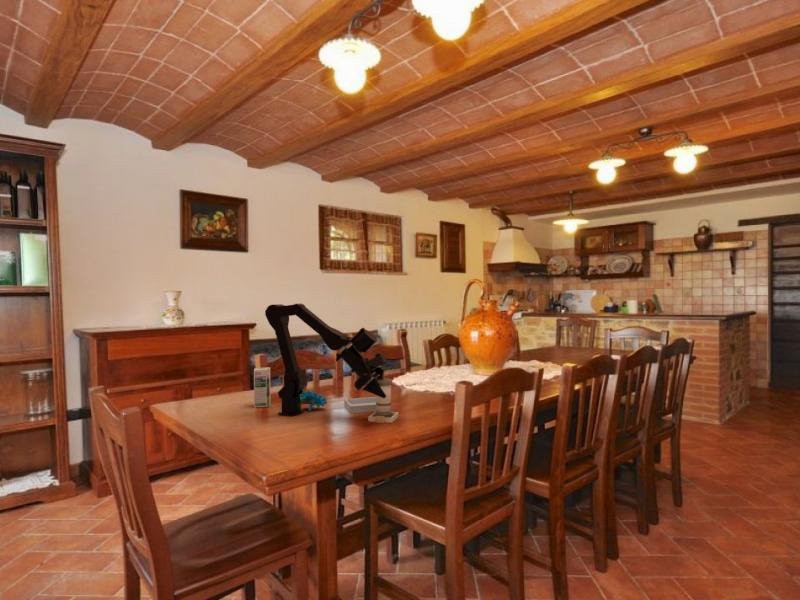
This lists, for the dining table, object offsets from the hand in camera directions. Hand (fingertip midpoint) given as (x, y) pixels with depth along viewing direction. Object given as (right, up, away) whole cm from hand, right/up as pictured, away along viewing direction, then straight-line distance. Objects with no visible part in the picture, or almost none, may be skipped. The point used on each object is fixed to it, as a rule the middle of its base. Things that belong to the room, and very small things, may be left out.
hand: (387, 395), depth 158 cm
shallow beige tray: (-1, -8, 0) cm, 8 cm away
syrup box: (-48, -8, +21) cm, 53 cm away
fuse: (-1, -7, 0) cm, 7 cm away
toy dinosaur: (-28, -8, +15) cm, 33 cm away
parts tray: (-9, -8, +16) cm, 20 cm away
